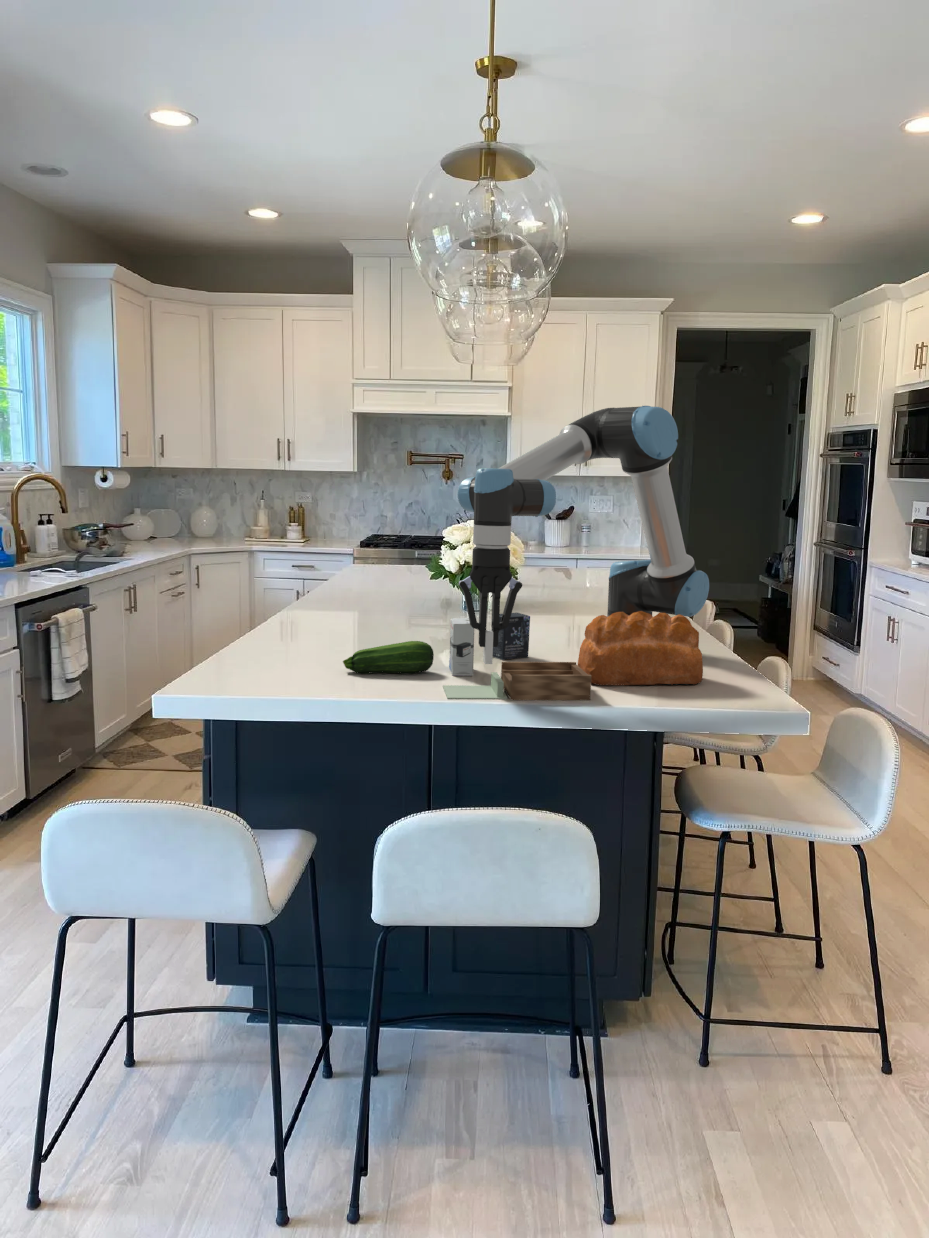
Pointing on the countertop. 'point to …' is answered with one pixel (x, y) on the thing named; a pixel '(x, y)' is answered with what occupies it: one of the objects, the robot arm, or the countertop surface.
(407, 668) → the vegetable
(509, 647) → the box
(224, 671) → the countertop surface
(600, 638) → the bread
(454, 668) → the ink box
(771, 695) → the countertop surface
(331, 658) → the countertop surface
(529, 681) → the pencil box
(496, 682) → the lid
